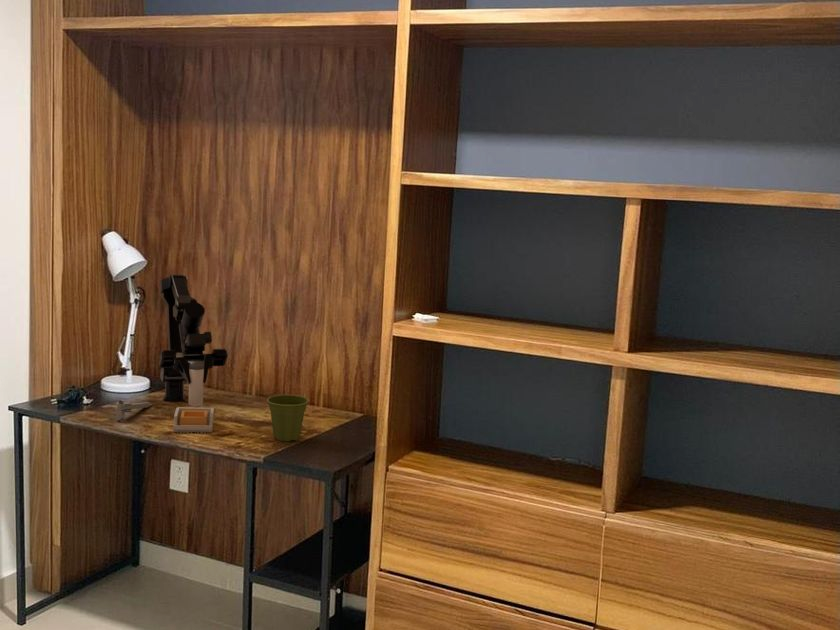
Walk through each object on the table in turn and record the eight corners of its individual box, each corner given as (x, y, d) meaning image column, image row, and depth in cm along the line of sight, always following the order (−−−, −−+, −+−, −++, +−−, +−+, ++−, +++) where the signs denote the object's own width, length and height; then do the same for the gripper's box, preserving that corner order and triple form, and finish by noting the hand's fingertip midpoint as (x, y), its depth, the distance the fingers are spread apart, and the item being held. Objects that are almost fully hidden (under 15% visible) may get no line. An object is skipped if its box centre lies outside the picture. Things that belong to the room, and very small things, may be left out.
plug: (191, 401, 247) (192, 359, 245) (204, 403, 247) (206, 360, 245) (186, 405, 243) (187, 362, 241) (199, 406, 243) (200, 363, 241)
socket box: (176, 422, 250) (176, 407, 249) (213, 422, 252) (213, 407, 251) (173, 432, 239) (173, 417, 239) (212, 432, 242) (212, 417, 241)
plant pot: (263, 432, 246) (265, 394, 244) (304, 432, 249) (306, 394, 247) (266, 444, 234) (268, 404, 233) (309, 444, 237) (311, 404, 236)
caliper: (119, 422, 247) (120, 401, 246) (116, 422, 247) (116, 401, 246) (152, 406, 267) (152, 386, 266) (148, 405, 267) (149, 386, 266)
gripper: (161, 322, 241) (167, 368, 233) (227, 321, 249) (235, 366, 241) (156, 344, 249) (162, 389, 241) (220, 342, 257) (227, 387, 249)
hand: (197, 382), depth 243 cm, fingers closed on plug, 4 cm apart
